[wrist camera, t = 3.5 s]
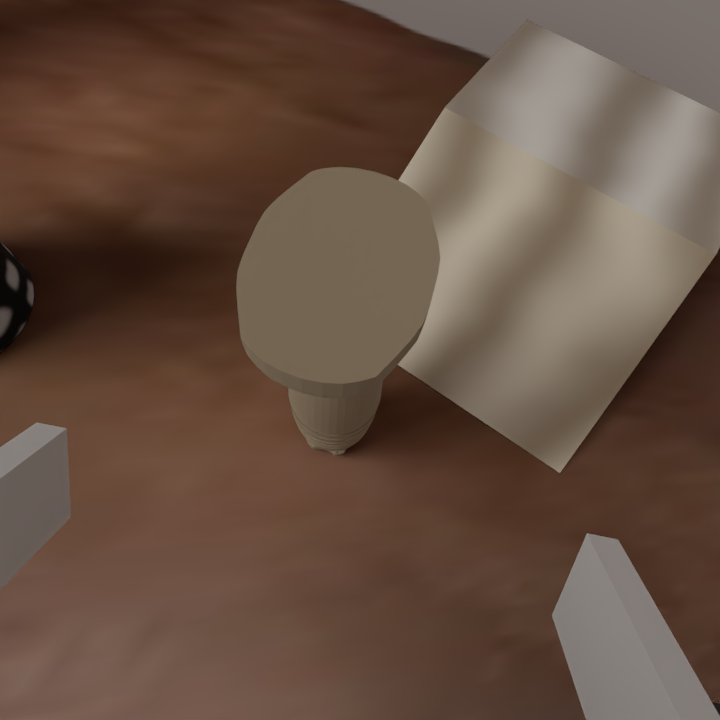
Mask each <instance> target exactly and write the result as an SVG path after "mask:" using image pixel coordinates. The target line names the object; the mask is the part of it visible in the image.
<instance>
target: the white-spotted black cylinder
mask: <svg viewBox="0 0 720 720" xmlns="http://www.w3.org/2000/svg"><path fill="white" fill-rule="evenodd" d="M33 299H34V290H33V282H32V280H31V277H30V275H29V272H28V271H27V270H26V268H25V267H24V266H23V264H22V263H21V262H20V261H19V260H18V259H17V258H16V257H15V256H14V255H13V254H12V253H11V252H10V251H9V250H8V249H7V248H6V247H5V246H4V245H3V244H2V243H1V242H0V352H1V351H3V350H4V349H5V348H6V347H7V346H9V345H10V344H11V342H12V341H13V340H14V339H15V338H16V337H17V336H18V334H19V333H20V332H21V330H22V329H23V327H24V325H25V324H26V322H27V320H28V318H29V315H30V312H31V310H32V306H33Z"/></svg>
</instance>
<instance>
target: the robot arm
mask: <svg viewBox="0 0 720 720" xmlns="http://www.w3.org/2000/svg"><path fill="white" fill-rule="evenodd" d="M70 517H71V510H70V489H69V468H68V447H67V428H62V427H57V426H52V425H47V424H42V423H35V424H34V425H33V426H31V427H30V428H28V429H27V430H25V431H24V432H22V433H21V434H19V435H18V436H16V437H15V438H13V439H12V440H10V441H9V442H7V443H6V444H4V445H3V446H1V447H0V589H1V588H2V587H3V586H4V585H5V584H6V583H7V582H8V581H9V580H10V579H11V578H12V577H13V576H14V575H15V574H16V573H17V572H18V571H19V570H20V569H21V568H22V567H23V566H24V565H25V564H26V563H27V562H28V560H29V559H30V558H31V557H32V556H33V555H34V554H35V553H36V552H37V551H38V550H39V549H40V548H41V547H42V546H43V545H44V544H45V543H46V542H47V541H48V540H49V539H50V538H51V537H52V536H53V535H54V534H55V533H56V532H57V531H58V530H59V529H60V528H61V527H62V526H63V525H64V524H65V522H66V521H67V520H68V519H69V518H70ZM552 618H553V621H554V624H555V627H556V630H557V633H558V636H559V639H560V642H561V645H562V648H563V651H564V654H565V657H566V660H567V663H568V667H569V670H570V673H571V676H572V679H573V682H574V685H575V688H576V691H577V694H578V697H579V700H580V703H581V706H582V709H583V712H584V715H585V718H586V720H720V704H717V703H713V702H711V700H710V698H709V696H708V695H707V693H706V691H705V690H704V688H703V686H702V684H701V683H700V681H699V679H698V677H697V676H696V674H695V672H694V670H693V669H692V667H691V665H690V664H689V662H688V660H687V658H686V657H685V655H684V653H683V651H682V650H681V648H680V646H679V644H678V643H677V641H676V639H675V637H674V636H673V634H672V632H671V631H670V629H669V627H668V625H667V624H666V622H665V620H664V618H663V617H662V615H661V613H660V611H659V610H658V608H657V606H656V605H655V603H654V601H653V599H652V598H651V596H650V594H649V592H648V591H647V589H646V587H645V585H644V584H643V582H642V580H641V578H640V577H639V575H638V573H637V572H636V570H635V568H634V566H633V565H632V563H631V561H630V559H629V558H628V556H627V554H626V552H625V551H624V549H623V547H622V546H621V544H620V542H619V540H618V539H613V538H608V537H603V536H598V535H593V534H588V533H587V534H586V537H585V539H584V541H583V544H582V546H581V548H580V551H579V553H578V555H577V558H576V560H575V562H574V565H573V567H572V569H571V572H570V574H569V576H568V579H567V581H566V583H565V586H564V588H563V590H562V593H561V595H560V597H559V600H558V602H557V604H556V607H555V609H554V611H553V614H552Z"/></svg>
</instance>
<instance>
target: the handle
mask: <svg viewBox="0 0 720 720" xmlns="http://www.w3.org/2000/svg"><path fill="white" fill-rule="evenodd" d="M439 264H440V251H439V243H438V239H437V235H436V231H435V227H434V224H433V220H432V217H431V214H430V210H429V207H428V204H427V201H426V200H425V199H424V198H423V197H422V196H421V195H420V194H418V193H417V192H416V191H415V190H413V189H412V188H410V187H409V186H408V185H406V184H404V183H402V182H400V181H398V180H396V179H394V178H392V177H389V176H386V175H383V174H380V173H377V172H373V171H368V170H363V169H358V168H348V167H333V168H324V169H319V170H314V171H311V172H310V173H308V174H307V175H306V176H305V177H303V178H302V179H301V180H299V181H298V182H297V183H295V184H294V185H293V186H292V187H290V188H289V189H288V190H287V191H285V192H284V193H283V194H282V195H281V196H279V197H278V198H277V199H276V200H275V201H274V202H273V203H272V204H271V205H270V206H269V207H268V208H267V209H266V210H265V212H264V213H263V215H262V217H261V218H260V220H259V222H258V223H257V225H256V227H255V229H254V232H253V234H252V236H251V238H250V240H249V242H248V245H247V247H246V249H245V251H244V253H243V256H242V259H241V262H240V265H239V268H238V271H237V285H236V292H237V306H238V317H239V327H240V336H241V341H242V343H243V346H244V349H245V351H246V353H247V355H248V356H249V358H250V359H251V360H252V361H253V363H254V364H255V365H256V366H257V367H258V368H259V369H260V370H261V371H262V372H263V373H264V374H265V375H267V376H268V377H269V378H271V379H272V380H274V381H276V382H278V383H279V384H281V385H283V386H285V387H287V388H288V391H289V399H290V404H291V408H292V413H293V416H294V418H295V421H296V423H297V425H298V427H299V429H300V431H301V432H302V434H303V435H304V436H305V438H306V439H307V443H308V444H309V445H310V447H312V448H313V449H314V450H326V451H329V452H331V453H332V454H333V455H334V456H339V455H343V454H344V453H345V450H346V449H347V448H349V447H351V446H352V445H354V444H355V443H357V442H358V441H359V440H360V439H361V438H362V437H363V436H364V434H365V433H366V432H367V430H368V428H369V427H370V425H371V423H372V421H373V419H374V416H375V414H376V411H377V408H378V405H379V402H380V398H381V392H382V385H383V380H384V379H385V378H386V377H387V376H388V375H389V374H390V373H391V372H392V370H393V369H394V368H395V367H396V366H397V365H398V364H399V362H400V361H401V360H402V359H403V358H404V357H405V355H406V354H407V353H408V352H409V350H410V349H411V348H412V347H413V345H414V344H415V343H416V342H417V340H418V338H419V336H420V333H421V331H422V328H423V326H424V323H425V320H426V317H427V314H428V310H429V307H430V304H431V300H432V296H433V292H434V288H435V284H436V280H437V276H438V271H439Z"/></svg>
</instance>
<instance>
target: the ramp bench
mask: <svg viewBox="0 0 720 720" xmlns="http://www.w3.org/2000/svg"><path fill="white" fill-rule="evenodd" d="M398 181H400V182H402V183H404V184H406V185H408V186H409V187H410V188H412V189H413V190H415V191H416V192H417V193H418V194H420V195H421V196H422V197H423V198H424V199H425V200H426V201H427V204H428V207H429V210H430V214H431V217H432V220H433V224H434V227H435V231H436V235H437V239H438V243H439V251H440V264H439V271H438V276H437V280H436V284H435V288H434V292H433V296H432V300H431V304H430V307H429V310H428V314H427V317H426V320H425V323H424V326H423V328H422V331H421V333H420V336H419V338H418V340H417V342H416V343H415V344H414V345H413V347H412V348H411V349H410V350H409V352H408V353H407V354H406V355H405V357H404V358H403V359H402V360H401V361H400V362H399V364H398V365H399V366H400V367H402V368H403V369H405V370H406V371H408V372H409V373H411V374H412V375H414V376H415V377H417V378H418V379H420V380H421V381H423V382H424V383H426V384H427V385H429V386H430V387H432V388H433V389H435V390H436V391H438V392H439V393H441V394H442V395H444V396H445V397H447V398H448V399H450V400H451V401H453V402H454V403H456V404H457V405H459V406H460V407H462V408H463V409H465V410H466V411H468V412H469V413H471V414H472V415H474V416H475V417H476V418H478V419H479V420H481V421H482V422H484V423H485V424H487V425H488V426H490V427H491V428H493V429H494V430H496V431H497V432H499V433H500V434H502V435H503V436H505V437H506V438H508V439H509V440H511V441H512V442H514V443H515V444H517V445H518V446H520V447H521V448H523V449H524V450H526V451H527V452H529V453H530V454H532V455H533V456H535V457H536V458H538V459H539V460H541V461H542V462H544V463H545V464H547V465H548V466H550V467H551V468H553V469H554V470H556V471H557V472H559V473H560V472H561V471H562V470H563V468H564V467H565V465H566V464H567V463H568V461H569V460H570V458H571V457H572V456H573V454H574V453H575V451H576V450H577V449H578V447H579V446H580V444H581V443H582V442H583V440H584V439H585V437H586V436H587V435H588V433H589V432H590V430H591V429H592V428H593V426H594V425H595V423H596V422H597V421H598V419H599V418H600V416H601V415H602V414H603V412H604V411H605V409H606V408H607V407H608V405H609V404H610V402H611V401H612V400H613V398H614V397H615V395H616V394H617V393H618V391H619V390H620V388H621V387H622V386H623V384H624V383H625V381H626V380H627V379H628V377H629V376H630V374H631V373H632V372H633V370H634V369H635V367H636V366H637V365H638V363H639V362H640V360H641V359H642V358H643V356H644V355H645V353H646V352H647V351H648V349H649V348H650V346H651V345H652V344H653V342H654V341H655V339H656V338H657V337H658V335H659V334H660V332H661V331H662V330H663V328H664V327H665V325H666V324H667V323H668V321H669V320H670V318H671V317H672V316H673V314H674V313H675V311H676V310H677V309H678V307H679V306H680V304H681V303H682V302H683V300H684V299H685V297H686V296H687V295H688V293H689V292H690V290H691V289H692V288H693V286H694V285H695V283H696V282H697V281H698V279H699V278H700V276H701V275H702V274H703V272H704V271H705V269H706V268H707V267H708V265H709V264H710V262H711V261H712V260H713V258H714V257H715V255H716V254H717V252H718V250H719V248H720V113H719V112H716V111H715V110H712V109H710V108H708V107H706V106H704V105H702V104H700V103H698V102H696V101H694V100H692V99H690V98H688V97H686V96H684V95H682V94H679V93H677V92H675V91H673V90H671V89H669V88H667V87H665V86H663V85H661V84H659V83H657V82H655V81H652V80H651V79H649V78H646V77H644V76H642V75H640V74H638V73H636V72H634V71H632V70H630V69H628V68H626V67H624V66H622V65H620V64H618V63H616V62H613V61H611V60H609V59H607V58H605V57H603V56H601V55H599V54H597V53H595V52H593V51H591V50H589V49H587V48H585V47H582V46H580V45H578V44H576V43H574V42H572V41H570V40H568V39H566V38H564V37H562V36H560V35H558V34H556V33H554V32H552V31H550V30H547V29H545V28H543V27H541V26H539V25H537V24H535V23H533V22H531V21H529V20H526V21H525V22H524V23H523V24H522V26H520V28H519V29H518V30H517V31H516V32H515V33H514V34H513V35H512V36H511V37H510V38H509V39H508V40H507V41H506V42H505V44H504V45H503V46H502V47H501V48H500V49H499V50H498V51H497V52H496V53H495V54H494V55H493V56H492V57H491V59H490V60H489V61H488V62H487V63H486V64H485V65H484V66H483V67H482V68H481V69H480V70H479V71H478V72H477V74H476V75H475V76H474V77H473V78H472V79H471V80H470V81H469V82H468V83H467V84H466V85H465V86H464V87H463V88H462V90H461V91H460V92H459V93H458V94H457V95H456V96H455V97H454V98H453V99H452V100H451V101H450V102H449V103H448V105H447V106H446V107H445V108H444V109H443V111H442V113H441V114H440V116H439V117H438V119H437V120H436V122H435V124H434V125H433V127H432V128H431V130H430V131H429V133H428V135H427V136H426V138H425V139H424V141H423V142H422V144H421V146H420V147H419V149H418V150H417V152H416V153H415V155H414V157H413V158H412V160H411V161H410V163H409V164H408V166H407V168H406V169H405V171H404V172H403V174H402V175H401V177H400V179H399V180H398Z"/></svg>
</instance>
